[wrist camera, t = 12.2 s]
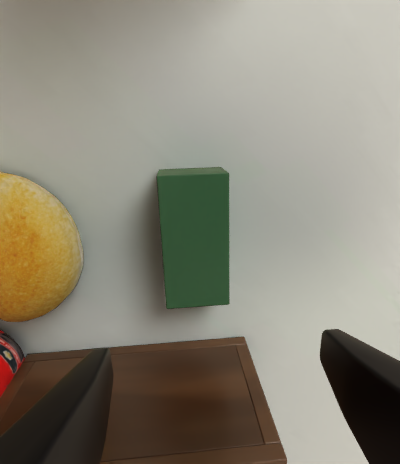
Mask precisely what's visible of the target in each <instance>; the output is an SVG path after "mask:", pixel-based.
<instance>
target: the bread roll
mask: <svg viewBox="0 0 400 464" xmlns="http://www.w3.org/2000/svg"><path fill="white" fill-rule="evenodd" d="M82 267H83V248H82V244H81V240H80V235H79V232H78V229H77V226H76V224H75V222H74V221H73V219H72V217H71V215H70V214H69V212H68V211H67V209H66V208H65V207H64V205H63V204H62V203H61V202H60V201H59V200H58V199H57V198H56V197H55V196H54V195H53V194H51V193H50V192H48V191H47V190H45V189H44V188H43V187H41V186H40V185H38V184H36V183H34V182H32V181H30V180H28V179H26V178H24V177H20V176H17V175H12V174H8V173H3V172H1V171H0V319H1V320H4V321H9V322H22V321H28V320H31V319H34V318H37V317H40V316H43V315H45V314H46V313H48V312H50V311H51V310H53V309H55V308H56V307H57V306H58V305H59V304H60V303H61V302H62V301H63V300H64V299H65V298H66V297H67V296H68V295H69V294H70V293H71V291H72V290H73V289H74V288H75V286H76V284H77V282H78V280H79V277H80V274H81V271H82Z"/></svg>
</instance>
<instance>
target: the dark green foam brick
mask: <svg viewBox="0 0 400 464" xmlns="http://www.w3.org/2000/svg"><path fill="white" fill-rule="evenodd" d="M157 188H158V202H159V215H160V229H161V242H162V256H163V269H164V283H165V296H166V308H167V309H173V308H186V307H200V306H214V305H227V304H229V173H228V172H227V171H225V170H224V169H223V168H221V167H212V168H188V169H164V170H159V171H158V174H157Z"/></svg>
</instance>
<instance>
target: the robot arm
mask: <svg viewBox="0 0 400 464" xmlns="http://www.w3.org/2000/svg"><path fill="white" fill-rule="evenodd" d="M320 360H321V363H322V366H323V368H324V371H325V373H326V375H327V378H328V380H329V383H330V385H331V387H332V390H333V392H334V395H335V397H336V399H337V402H338V404H339V406H340V409H341V411H342V413H343V415H344V417H345V419H346V421H347V423H348V425H349V427H350V429H351V431H352V433H353V435H354V436H355V438H356V440H357V442H358V444H359V446H360V448H361V449H362V451H363V453H364V455H365V457H366V459H367V460H368V462H369V464H400V361H398V360H396V359H395V358H393V357H391V356H389V355H387V354H385V353H383V352H381V351H379V350H377V349H375V348H373V347H372V346H370V345H368V344H366V343H364V342H362V341H360V340H358V339H356V338H354V337H352V336H350V335H349V334H347V333H345V332H343V331H341V330H339V329H331V330H325V331H323V333H322V339H321V348H320ZM112 387H113V367H112V360H111V353H110V350H109V348H96V349H93V350H92V351H90V352H89V353H88V354H87V355H86V356H85V357H84V358H83V359H82V360H81V361H80V362H79V363H78V364H77V365H76V366H74V367H73V368H72V369H71V370H70V371H69V372H68V373H67V374H66V375H65V376H64V377H63V378H62V379H61V380H60V381H59V382H57V383H56V384H55V385H54V386H53V387H52V388H51V389H50V390H49V391H48V392H47V393H46V394H45V395H44V396H43V397H42V398H40V399H39V400H38V401H37V402H36V403H35V404H34V405H33V406H32V407H31V408H30V409H29V410H28V411H27V412H26V413H25V414H23V415H22V416H21V417H20V418H19V419H18V420H17V421H16V422H15V423H14V424H13V425H12V426H11V427H10V428H9V429H7V430H6V431H5V432H4V433H3V434H2V435H1V436H0V464H100V461H101V457H102V453H103V449H104V444H105V439H106V432H107V425H108V418H109V410H110V402H111V395H112Z"/></svg>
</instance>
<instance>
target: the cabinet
mask: <svg viewBox="0 0 400 464" xmlns="http://www.w3.org/2000/svg"><path fill="white" fill-rule="evenodd" d="M92 350H93V349H87V350H74V351H62V352H50V353H37V354H28V355H27V356H26V358H25V360H24V361H23V363H22V364H21V366H20V368H19V369H18V371H17V372H16V374H15V375H14V377H13V378H12V380H11V382H10V383H9V385H8V386H7V388H6V389H5V391H4V392H3V394H2V396H1V397H0V436H1V435H2V434H3V433H4V432H5V431H6V430H7V429H9V428H10V427H11V426H12V425H13V424H14V423H15V422H16V421H17V420H18V419H19V418H20V417H21V416H22V415H23V414H25V413H26V412H27V411H28V410H29V409H30V408H31V407H32V406H33V405H34V404H35V403H36V402H37V401H38V400H39V399H40V398H42V397H43V396H44V395H45V394H46V393H47V392H48V391H49V390H50V389H51V388H52V387H53V386H54V385H55V384H56V383H57V382H59V381H60V380H61V379H62V378H63V377H64V376H65V375H66V374H67V373H68V372H69V371H70V370H71V369H72V368H73V367H74V366H76V365H77V364H78V363H79V362H80V361H81V360H82V359H83V358H84V357H85V356H86V355H87V354H88V353H89V352H90V351H92ZM109 350H110V353H111V360H112V367H113V387H112V395H111V402H110V410H109V418H108V425H107V432H106V439H105V444H104V449H103V453H102V457H101V461H100V464H287V458H286V455H285V452H284V449H283V446H282V444H281V441H280V438H279V435H278V432H277V430H276V427H275V424H274V421H273V418H272V415H271V412H270V409H269V407H268V404H267V401H266V398H265V395H264V392H263V389H262V387H261V384H260V381H259V378H258V375H257V372H256V369H255V366H254V364H253V361H252V358H251V355H250V352H249V349H248V346H247V343H246V341H245V338H244V337H235V338H223V339H210V340H198V341H186V342H173V343H161V344H148V345H136V346H124V347H111V348H109Z"/></svg>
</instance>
